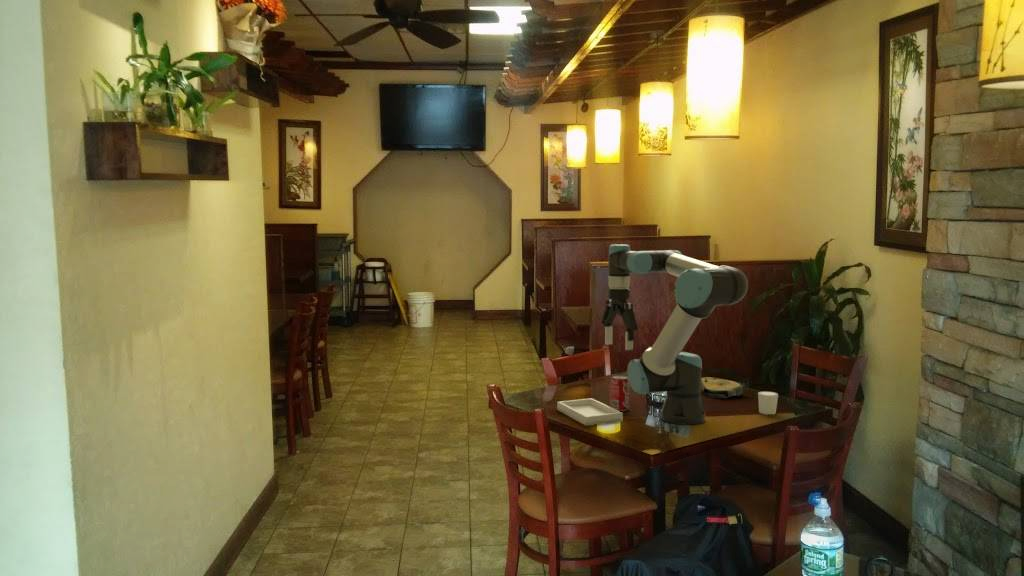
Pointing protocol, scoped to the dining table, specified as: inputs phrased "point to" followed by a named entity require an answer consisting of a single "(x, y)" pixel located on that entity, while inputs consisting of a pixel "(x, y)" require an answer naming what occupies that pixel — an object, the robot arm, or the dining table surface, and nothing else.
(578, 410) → the bussing tray
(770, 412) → the white cup
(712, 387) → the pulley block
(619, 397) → the soda can
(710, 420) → the dining table surface
